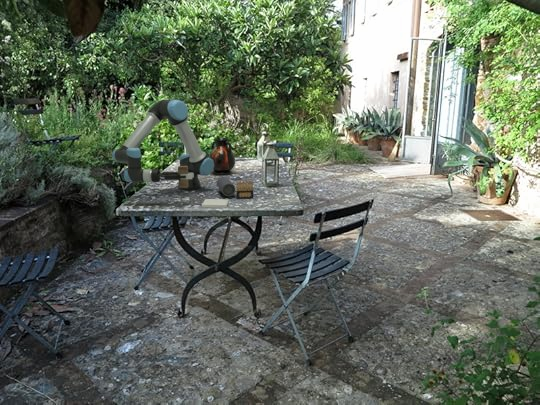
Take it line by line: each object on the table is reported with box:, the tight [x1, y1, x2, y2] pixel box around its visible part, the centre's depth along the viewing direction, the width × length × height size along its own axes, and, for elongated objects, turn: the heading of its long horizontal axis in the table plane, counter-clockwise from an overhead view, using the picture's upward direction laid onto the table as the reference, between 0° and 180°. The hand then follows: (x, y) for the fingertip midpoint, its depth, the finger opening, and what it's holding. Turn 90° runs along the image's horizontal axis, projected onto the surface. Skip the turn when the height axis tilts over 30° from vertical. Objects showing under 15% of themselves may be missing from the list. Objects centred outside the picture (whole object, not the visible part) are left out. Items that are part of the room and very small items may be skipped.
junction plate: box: [201, 198, 230, 209], centre depth 266 cm, size 14×14×2 cm
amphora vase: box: [208, 137, 236, 176], centre depth 359 cm, size 22×22×28 cm
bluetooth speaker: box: [216, 176, 236, 197], centre depth 291 cm, size 23×9×10 cm, turn 15°
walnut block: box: [177, 165, 189, 189], centre depth 262 cm, size 4×5×12 cm
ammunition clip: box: [235, 179, 255, 200], centre depth 280 cm, size 11×2×12 cm, turn 100°
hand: (192, 175), depth 261 cm, fingers closed on walnut block, 4 cm apart
